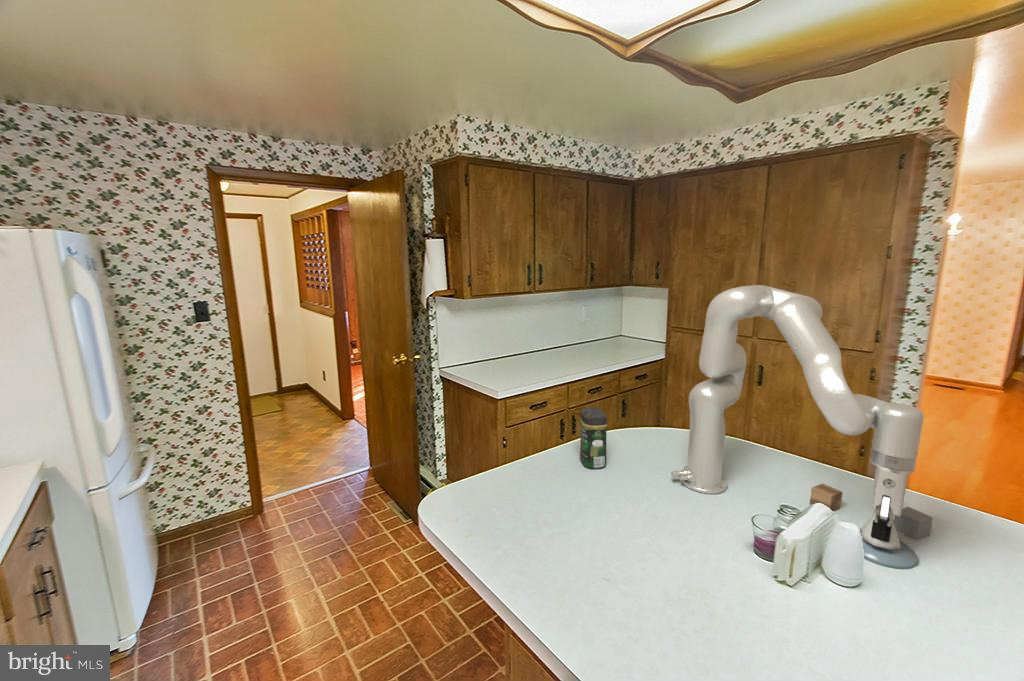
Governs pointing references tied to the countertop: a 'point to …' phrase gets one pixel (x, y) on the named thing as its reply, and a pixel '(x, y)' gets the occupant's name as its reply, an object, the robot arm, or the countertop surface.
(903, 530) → the charcoal block
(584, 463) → the coffee jar
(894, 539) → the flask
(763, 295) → the robot arm
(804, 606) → the countertop surface
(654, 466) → the countertop surface
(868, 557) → the slate plate
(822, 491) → the walnut block
